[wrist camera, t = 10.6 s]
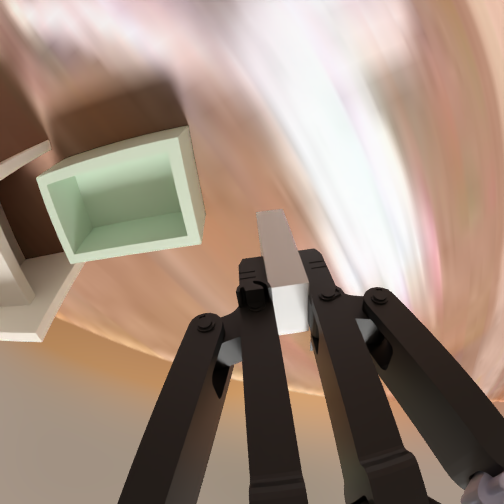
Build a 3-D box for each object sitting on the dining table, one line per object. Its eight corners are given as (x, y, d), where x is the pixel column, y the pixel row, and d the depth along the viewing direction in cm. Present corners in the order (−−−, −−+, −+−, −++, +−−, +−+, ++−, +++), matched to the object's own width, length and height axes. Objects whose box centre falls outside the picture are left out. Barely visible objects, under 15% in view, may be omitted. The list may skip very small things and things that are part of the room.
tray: (65, 158, 26) (35, 177, 21) (188, 125, 26) (177, 137, 21) (90, 234, 31) (70, 264, 26) (205, 214, 31) (201, 244, 26)
